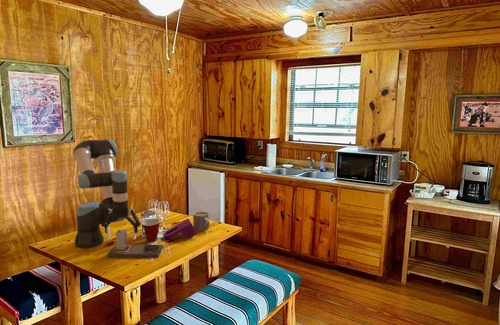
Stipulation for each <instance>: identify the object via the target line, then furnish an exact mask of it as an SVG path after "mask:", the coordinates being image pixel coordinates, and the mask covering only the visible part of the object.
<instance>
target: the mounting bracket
mask: <svg viewBox="0 0 500 325" xmlns="http://www.w3.org/2000/svg"><path fill="white" fill-rule="evenodd" d="M180 234H181V235H182V237H183V238H184V239H192V238H193V237H194V236H196V231H195V229H194V227H193V223H192V222H191V220H190V218H186V219H185V220H183V221H181V222H178V223H177V224H175V225H174V226H172V227H170V228H169V229H166V230H165V232H163V234H162V237H163V238H164V239H165V240H170V239H173V238H174V237H176V236H179V235H180Z"/></svg>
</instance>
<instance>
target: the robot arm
mask: <svg viewBox="0 0 500 325" xmlns="http://www.w3.org/2000/svg"><path fill="white" fill-rule="evenodd" d="M72 157H73V159H74V160H75V161H76V164H77V167H78V171H79V174H78V175H77V185H78V188H79V189H81V190H82V189H83V190H84V189H94V188H101V189H102V196H103V199H102V200H100V201H101V203H99V201H95V200H93V201H87V202H82V203H81V204H79V205H77V206H76V211H75V216H76V228H77V229H76V230H77V231H76V235H75V239H74V247H76V248H78V247H79V248H80V249H89V248H94V247H98V246H100V245H101V246H102V244H103V243H104V242H105V240H104V235H103V233H102V230H101V227H104V233H105V234H106V240H110V239H111V226H109V225H110V224H111V223H119V222H122V221H125V220H127V221H128V222H129V224H131V225H132V240H136V238H137V233H138V232H139V230H138V228H140V226H141V225H142V224H141V221H140V219H139V218H138V215H137V213H136V212H135V211H136V210H135V208H132V209H129V200H128V199H129V196H128V173H127V171H125V170H116V169H115V163H114V161H115V160H116V158H117V157H118V148H117V144H116V142H115V141H114V140H113V139H106V138H105V139H86V140H83V141H81V142H79V143H78V144H76V146H75V147H74V148H73V151H72ZM93 159H95V160H94V161H95V163H97V164H98V169H99V172H96V169H95V166H94V163H93ZM130 214H131V216H132V217H131V216H130Z"/></svg>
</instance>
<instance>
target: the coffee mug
mask: <svg viewBox="0 0 500 325" xmlns="http://www.w3.org/2000/svg"><path fill="white" fill-rule="evenodd" d="M192 217H193V218H192V222H193V223H192V225H193V227H194V229H195V232H206V231H207V230H209V227H210V220H209V219H210V213H209V212H207V211H196V212H193V214H192Z"/></svg>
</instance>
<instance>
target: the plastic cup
mask: <svg viewBox="0 0 500 325" xmlns="http://www.w3.org/2000/svg"><path fill="white" fill-rule="evenodd" d="M160 222H161V219H159V218H157V217H156V218H153V217H152V218H147V219H144V220H142V221H140V223H141V225H142V227H143V231H144V236H145V239H146V242H148V243H154V242H157V241H158V235H159V228H160Z"/></svg>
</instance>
